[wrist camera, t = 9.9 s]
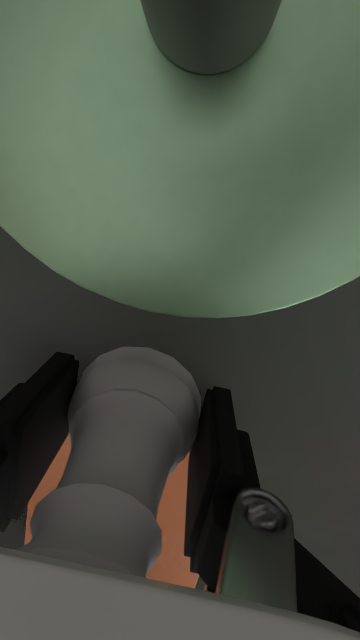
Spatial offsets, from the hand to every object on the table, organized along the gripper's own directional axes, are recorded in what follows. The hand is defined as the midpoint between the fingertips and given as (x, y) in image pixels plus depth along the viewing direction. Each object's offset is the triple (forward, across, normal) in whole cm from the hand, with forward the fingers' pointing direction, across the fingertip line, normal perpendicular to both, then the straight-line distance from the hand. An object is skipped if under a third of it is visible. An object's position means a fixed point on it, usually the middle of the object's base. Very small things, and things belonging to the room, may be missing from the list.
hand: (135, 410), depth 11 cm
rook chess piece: (+1, 0, 0) cm, 1 cm away
